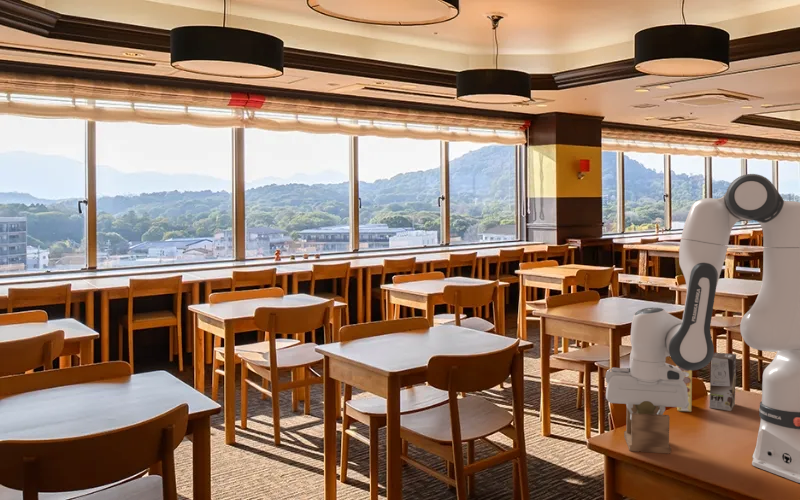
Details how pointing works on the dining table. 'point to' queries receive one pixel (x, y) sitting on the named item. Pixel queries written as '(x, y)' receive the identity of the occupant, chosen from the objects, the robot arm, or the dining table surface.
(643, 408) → the cork
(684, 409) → the candy box
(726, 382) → the coffee box
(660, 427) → the caddy
